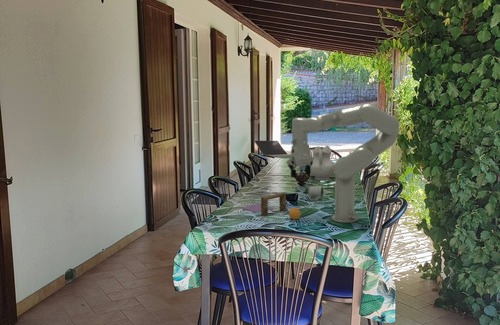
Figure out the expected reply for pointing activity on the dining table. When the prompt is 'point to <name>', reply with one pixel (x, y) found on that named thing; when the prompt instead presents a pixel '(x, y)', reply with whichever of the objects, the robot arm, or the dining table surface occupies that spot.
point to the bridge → (265, 199)
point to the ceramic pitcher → (322, 164)
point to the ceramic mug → (315, 193)
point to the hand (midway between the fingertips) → (300, 175)
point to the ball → (294, 213)
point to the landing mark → (254, 208)
